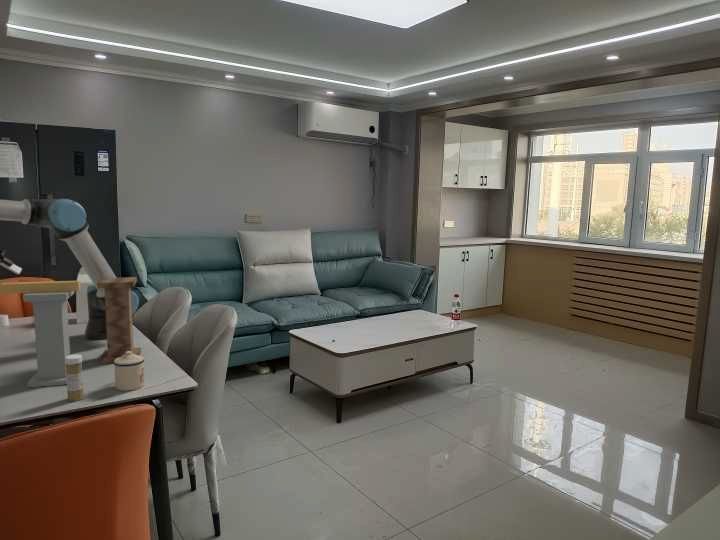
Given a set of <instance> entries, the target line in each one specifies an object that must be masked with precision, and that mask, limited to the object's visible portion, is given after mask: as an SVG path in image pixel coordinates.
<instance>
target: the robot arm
mask: <svg viewBox="0 0 720 540" xmlns="http://www.w3.org/2000/svg"><path fill="white" fill-rule="evenodd" d="M0 221H12V222H20V223H22V224H23V225H31V226H36V227H37V226H38V227H42V228H47V229H51V230H52V231H53V233H54V234H55V235H56V237H57V239H58V240H60V241H64V242H66V244H67V245H68V248H69V249H70V251H71V252H72V253H73V255H74V256H75V258H76V260H78V263H79V264H80V265H81V268H84V270H85V271H86V273H87V275H88V276H89V278H90V279H91V281H92V282H93V285H89V286H88V287H87V300H88V316H89V320H88V323H86V327H85V331H84V337H85V338H86V339H89V340H107V329H106V309H105V290H104V288H100V289H97V283H98V282H99V281H100V280H101V279H102V278H117V276H116V275H115V273H114V271H113V270H112V268H111V267H110V265H109V264H108V262H107V260H106V258H105V257H104V255H103V253H101V251H100V249H99V247H98V246H97V244H96V243H95V241H94V239H93V238H92V236H91V234H90V232H88V229H89V226H90V225H89V223H88V221H87V212H86V210H85V209H84V207H83V206H82V205H81V204H80V203H78V202H76V200H75V201H74V200H73V199H72V200H71V199H67V198H44V199H27V198H24V199H23V200H21V201H20V200H11V199H9V200H8V199H0ZM5 254H6V251H5V250H4V249H0V266H2V267H4V268H6V269H7V270H9V271H11V272H12V273H14V274H16V275H17V276H18V275H20V274H21V272H22V270H23V268H22V267H20V266H18V265H16V264H15V263H14V261H12V260H10V259H9V258H7V257H5ZM139 301H140V300H139V296H138V295H137V293H135V292H134V291H133V290H131V304H132V315H133V314H135V312H136V311H137V310H138V307H139V305H140V304H139V303H140V302H139Z"/></svg>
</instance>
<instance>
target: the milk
mask: <svg viewBox="0 0 720 540" xmlns="http://www.w3.org/2000/svg"><path fill="white" fill-rule="evenodd" d="M76 281H80V287H81V290H79V291H75V296H76V299H75V300H76V302H75V303H76V304H75V305H76V324H77V323H80V324H87V323H86V322H88V320H89V316H88V300H87V287H88V286H89V285H93V282H92V281H91V279H90V278H89V276H88V275H87V273H86V271H85V270H84V268H83V267H80V269H79V272H78V273H77V277H76Z"/></svg>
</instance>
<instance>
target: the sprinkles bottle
mask: <svg viewBox="0 0 720 540" xmlns="http://www.w3.org/2000/svg"><path fill="white" fill-rule="evenodd" d="M82 363H83V356H82V354H70V355H69V356H66V357H65V364H66V378H67V380H66V382H67V385H66V389H67V398H66V399H67V400H68V401H70V402H77V401H81V400H83V399H84V398H85V395H84V376H83V374H84V373H83V364H82Z"/></svg>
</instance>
